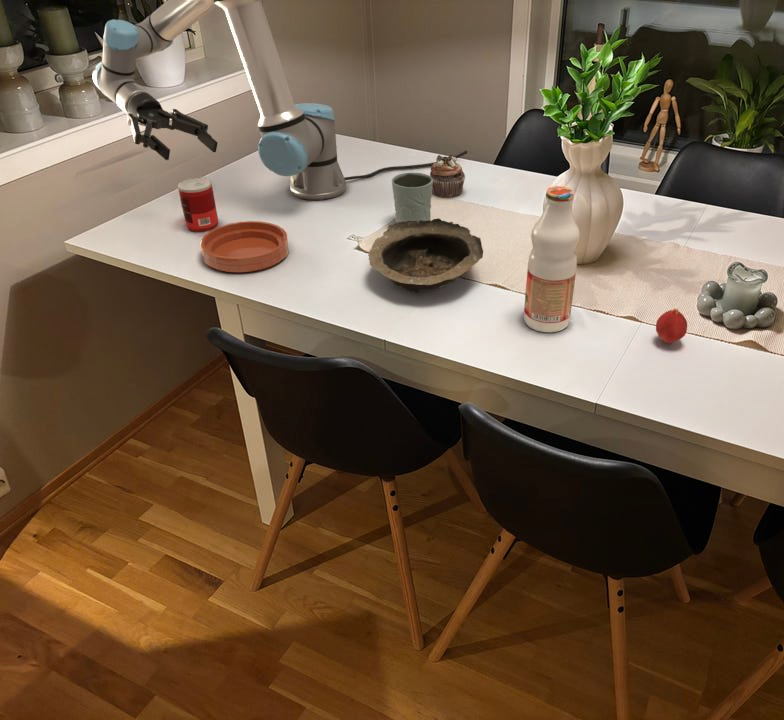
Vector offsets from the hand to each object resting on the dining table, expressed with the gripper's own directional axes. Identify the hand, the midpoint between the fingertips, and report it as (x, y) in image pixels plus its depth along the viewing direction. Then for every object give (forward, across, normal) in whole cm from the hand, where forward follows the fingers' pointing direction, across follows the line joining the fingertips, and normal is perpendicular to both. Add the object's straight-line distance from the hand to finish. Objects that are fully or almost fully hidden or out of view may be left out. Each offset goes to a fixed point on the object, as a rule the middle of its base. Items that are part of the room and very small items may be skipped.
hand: (192, 151), depth 177 cm
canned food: (+9, +1, -16) cm, 18 cm away
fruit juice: (+94, -13, +16) cm, 97 cm away
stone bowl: (+66, -12, +6) cm, 67 cm away
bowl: (+29, +5, -9) cm, 30 cm away
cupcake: (+40, -54, +3) cm, 67 cm away
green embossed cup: (+46, -32, +2) cm, 56 cm away
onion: (+116, -21, +25) cm, 120 cm away
